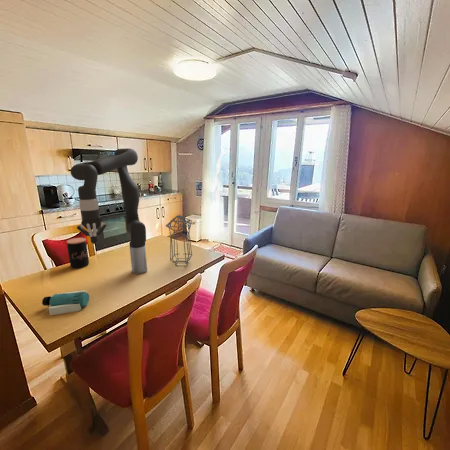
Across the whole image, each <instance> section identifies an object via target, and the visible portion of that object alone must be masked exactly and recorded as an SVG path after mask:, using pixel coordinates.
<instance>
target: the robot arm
mask: <svg viewBox="0 0 450 450" xmlns="http://www.w3.org/2000/svg"><path fill="white" fill-rule="evenodd" d="M138 160H139V157H138V153H137V151H136V150H135V149H132V148H130V147H129V148H116V149H115V151H114V155H111V156H105V157H100V158H98V159H97V158H96V159H94V160H92V161H87V162H81V163H76V164H74V165H73V166H72V167H71V169H70V175H71V177H72V178H74V179H75V180H77V181H84V182H83V185H80V186H78V187H77V192H78V193H77V194H78V199H79V202H78V204H79V210H80V216H81V217H80V218H81V222H80V224H79V225H77V226H76V229H77V230H78V231H79V232H80V233H82V234H83V235H84V236H86V237H90V238H89V239H90V242H91V244H94V245H97V244H98V243H99V238H98V236H100V235H101V234H102V233H103V231H104V230H105V229H106V227H107V225H108V224H107V223H106V222H103V221H102V219H101V215H100V209H99V202H98V198H97V190H96V188H97V183H98V176H100V175H104V174H106V173H108V172H111V171H113V170H117V173H118V178H119V183H120V189H121V196H122V197H121V198H122V200H123V201H122V202H123V206H124V207H123V208H124V212H125V223H126V224H125V226H126V230H127V232H128V233H129V234H130V242H129V255H130V264H131V265H130V266H131V267H130V268H131V273H132V274H135V275H137V274H138V275H139V274H144V273H146V272H148V267H147V266H148V265H147V261H148V260H147V252H146V250H147V249H146V242H147V230H146V226H145V224H144V222H141V221H140V218H139V205H140V204H139V203H140V193H139V188H138V185H137V184H136V182H135V181H134V180H133V178H132V177H131V176H130V173H129V170H128V166H134V165H136V164H137V163H138ZM99 228H100V229H99ZM98 229H99V231H98Z"/></svg>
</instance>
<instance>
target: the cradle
mask: <svg viewBox="0 0 450 450" xmlns="http://www.w3.org/2000/svg"><path fill="white" fill-rule="evenodd" d="M63 293H64V292H60V293H59V292H58V294H63ZM65 293H68V294H69V293H88V292H87V289H85V290H84V289H83V290H77V291H76V290H74V291H69V292H66V291H65ZM82 308H83V306H80V303H79V304H65V305H58V306H51V305H50V306H48V311H49V316H53V315H61V314H68V313H73V312H81V311H82Z"/></svg>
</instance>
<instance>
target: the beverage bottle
mask: <svg viewBox="0 0 450 450" xmlns="http://www.w3.org/2000/svg"><path fill="white" fill-rule="evenodd" d="M62 293H63V294H59V293H54V294H53V295H52V296H44V297H43V298H42V300H41V304H42V306H48V307H51V306H58V305H65V304H79V303H80V306H82V307H86V306H88V304H89V301H90V295H89V292H87V293H69V294H68V293H66V292H62Z"/></svg>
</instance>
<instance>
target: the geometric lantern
mask: <svg viewBox="0 0 450 450" xmlns="http://www.w3.org/2000/svg"><path fill="white" fill-rule="evenodd" d="M172 223H174V225H172ZM182 223H183V224H182ZM192 223H193V220H191V219H189V218H187V217H185V216H183V215H181V214H178V215H176V216H174V218H172V219H171V220H170V221H169V222H168V223H167V224H165V227H166V228H168V229H169V236H170V238H169V239H170V241H169V242H170V243H169V244H170V245H169V247H170V248H169V249H170V253H169V254H170V255H169V257H170V261H169V262H172V263H174V264H175V265H176V266H175V267H180V266H179V265H178V263H189V262H188V261H191V259H192V257H193V251H192V245H191V244H192V243H191V237H190V233H191V225H192ZM176 224H177V226H176ZM176 228H177V229H176ZM187 228H188V229H187ZM175 229H176V230H175ZM183 229H185V231H186V235H185V236H184V234H183V232H182V231H181V230H183ZM171 230H172V231H173V232H171ZM178 232H179V233H180V235H182V238H183V248H184V249H183V251H184V257H182V258H180V257H179V252H178V251H179V250H178V249H179V248H178V244H175V243H176V242H175V240H176V239H178V238H180V236H178ZM175 233H176V235H175ZM185 239H186V240H185ZM175 246H176V247H175ZM175 248H176V250H175ZM186 249H187V253H186ZM175 252H176V253H175ZM174 257H175V259H176V260H174ZM176 262H177V263H176Z"/></svg>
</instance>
